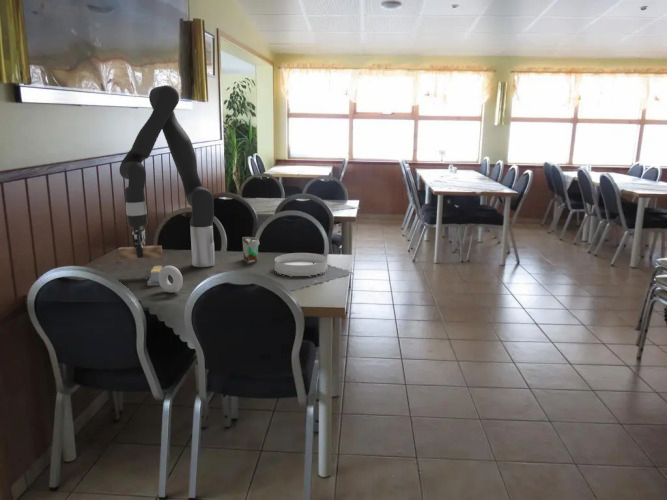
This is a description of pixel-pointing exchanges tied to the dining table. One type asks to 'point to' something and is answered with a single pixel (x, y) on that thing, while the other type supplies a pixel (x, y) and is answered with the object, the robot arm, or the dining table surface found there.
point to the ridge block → (154, 276)
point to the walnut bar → (147, 252)
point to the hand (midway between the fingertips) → (141, 255)
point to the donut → (165, 282)
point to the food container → (250, 249)
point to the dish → (300, 263)
